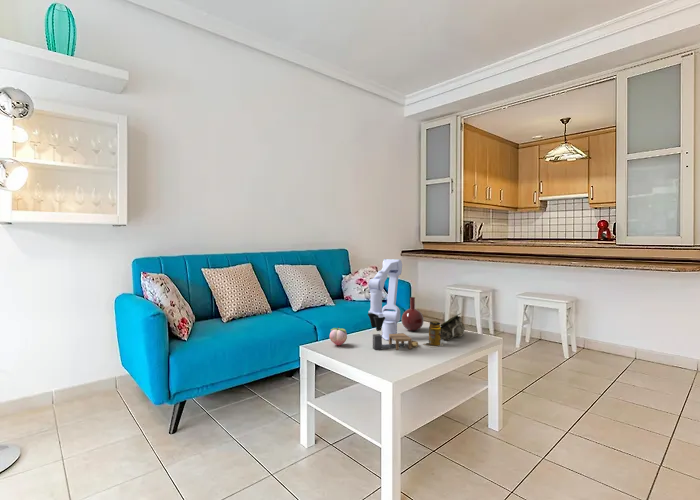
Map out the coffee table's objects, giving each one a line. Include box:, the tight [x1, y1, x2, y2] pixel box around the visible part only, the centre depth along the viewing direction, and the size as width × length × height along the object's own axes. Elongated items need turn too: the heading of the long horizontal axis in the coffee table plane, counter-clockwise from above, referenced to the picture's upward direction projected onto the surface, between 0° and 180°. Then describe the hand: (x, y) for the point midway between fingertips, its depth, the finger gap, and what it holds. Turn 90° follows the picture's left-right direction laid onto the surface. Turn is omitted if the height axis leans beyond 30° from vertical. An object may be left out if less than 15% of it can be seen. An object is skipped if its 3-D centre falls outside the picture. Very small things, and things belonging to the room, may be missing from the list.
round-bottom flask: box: [401, 296, 425, 332], centre depth 231 cm, size 13×13×20 cm
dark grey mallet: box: [372, 333, 405, 351], centre depth 196 cm, size 4×16×7 cm, turn 105°
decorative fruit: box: [329, 326, 348, 346], centre depth 200 cm, size 9×8×10 cm
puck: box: [412, 340, 419, 348], centre depth 199 cm, size 5×5×2 cm
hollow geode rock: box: [440, 312, 466, 342], centre depth 215 cm, size 28×13×15 cm
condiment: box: [423, 320, 444, 349], centre depth 201 cm, size 7×8×12 cm
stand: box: [388, 332, 413, 351], centre depth 198 cm, size 11×8×5 cm
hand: (376, 328), depth 195 cm, fingers open, 7 cm apart
